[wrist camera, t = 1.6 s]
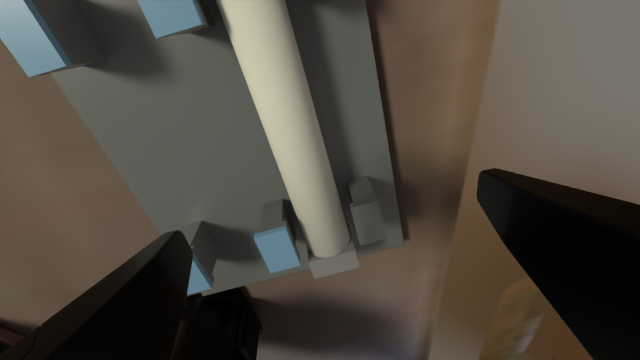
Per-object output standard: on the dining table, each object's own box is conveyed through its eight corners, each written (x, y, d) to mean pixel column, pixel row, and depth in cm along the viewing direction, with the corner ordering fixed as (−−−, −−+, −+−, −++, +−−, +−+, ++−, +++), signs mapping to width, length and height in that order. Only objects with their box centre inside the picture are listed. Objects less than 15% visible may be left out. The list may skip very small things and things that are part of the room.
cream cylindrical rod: (351, 238, 22) (359, 267, 20) (312, 249, 23) (314, 278, 20) (251, -133, 12) (239, -175, 10) (180, -109, 13) (150, -144, 10)
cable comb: (205, 288, 25) (189, 337, 21) (-46, -88, 13) (-192, -136, 9) (400, 237, 24) (421, 279, 20) (326, -216, 12) (342, -329, 8)
